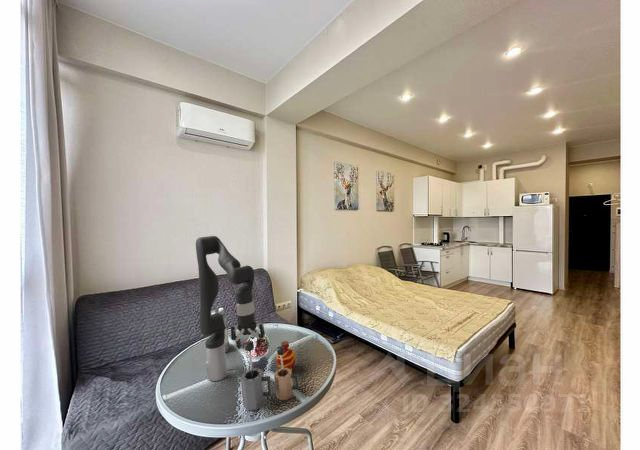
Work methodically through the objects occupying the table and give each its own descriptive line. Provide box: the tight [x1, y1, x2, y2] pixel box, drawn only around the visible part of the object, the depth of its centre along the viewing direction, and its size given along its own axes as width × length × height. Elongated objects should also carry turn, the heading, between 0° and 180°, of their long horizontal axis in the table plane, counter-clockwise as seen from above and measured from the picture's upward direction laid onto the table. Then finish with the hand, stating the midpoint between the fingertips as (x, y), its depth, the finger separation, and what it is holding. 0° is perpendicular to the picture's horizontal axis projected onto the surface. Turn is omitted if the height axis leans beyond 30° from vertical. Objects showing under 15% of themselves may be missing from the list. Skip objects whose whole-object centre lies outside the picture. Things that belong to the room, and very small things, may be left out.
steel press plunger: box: [244, 340, 255, 379], centre depth 114 cm, size 4×4×19 cm
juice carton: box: [210, 307, 230, 353], centre depth 162 cm, size 9×10×27 cm
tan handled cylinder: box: [273, 368, 300, 401], centre depth 118 cm, size 10×8×10 cm
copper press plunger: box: [276, 345, 285, 376], centre depth 118 cm, size 3×3×15 cm
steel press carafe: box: [240, 367, 273, 412], centre depth 114 cm, size 12×9×13 cm
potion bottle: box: [276, 340, 296, 372], centre depth 136 cm, size 10×10×15 cm
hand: (249, 347), depth 113 cm, fingers open, 8 cm apart
